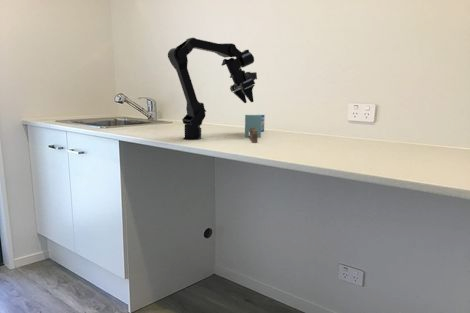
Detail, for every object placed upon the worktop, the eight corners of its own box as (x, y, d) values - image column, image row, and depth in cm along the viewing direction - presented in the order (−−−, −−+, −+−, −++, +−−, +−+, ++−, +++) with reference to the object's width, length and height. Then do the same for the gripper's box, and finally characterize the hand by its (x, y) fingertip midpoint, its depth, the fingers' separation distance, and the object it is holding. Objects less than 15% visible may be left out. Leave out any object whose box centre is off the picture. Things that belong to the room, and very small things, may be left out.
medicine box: (255, 132, 186) (256, 115, 185) (248, 132, 189) (248, 115, 187) (264, 131, 193) (264, 114, 191) (257, 130, 195) (257, 114, 194)
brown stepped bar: (257, 142, 155) (257, 130, 154) (252, 142, 155) (252, 130, 154) (254, 138, 167) (254, 127, 166) (249, 138, 167) (249, 127, 166)
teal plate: (245, 137, 170) (245, 115, 168) (244, 136, 173) (245, 114, 171) (260, 137, 171) (261, 115, 169) (259, 136, 174) (260, 114, 172)
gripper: (258, 61, 163) (271, 94, 167) (244, 66, 181) (256, 96, 185) (236, 71, 161) (250, 104, 164) (224, 76, 179) (237, 105, 182)
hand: (249, 102), depth 174 cm, fingers open, 9 cm apart
